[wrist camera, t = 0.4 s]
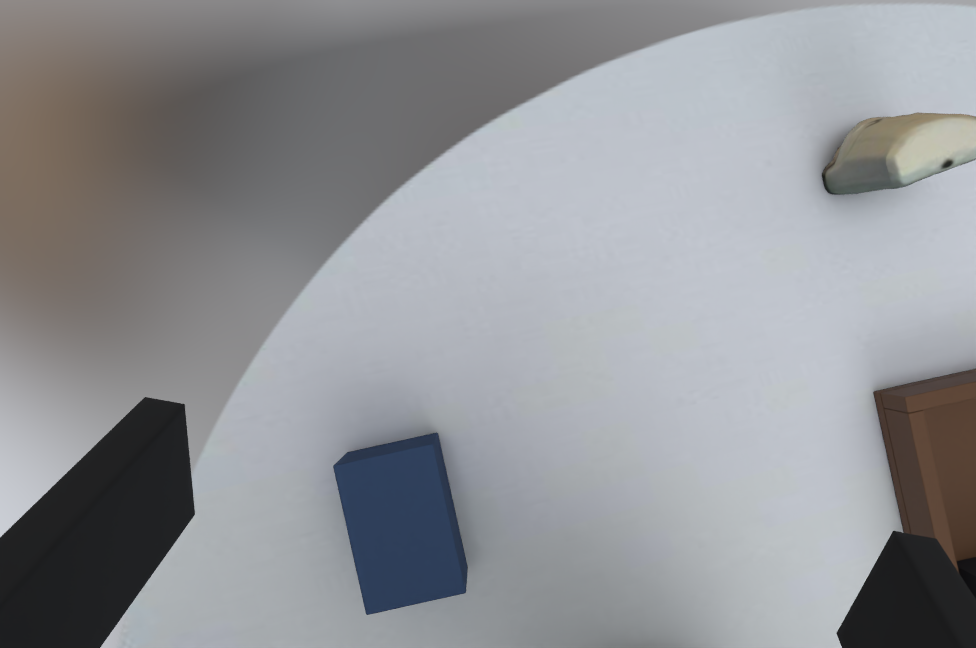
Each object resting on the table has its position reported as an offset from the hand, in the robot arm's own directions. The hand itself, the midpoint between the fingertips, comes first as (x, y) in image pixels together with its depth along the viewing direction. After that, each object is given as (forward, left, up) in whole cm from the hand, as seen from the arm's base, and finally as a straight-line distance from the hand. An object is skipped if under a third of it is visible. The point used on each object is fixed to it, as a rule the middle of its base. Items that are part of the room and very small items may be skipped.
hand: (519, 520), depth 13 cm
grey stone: (+8, -26, -31) cm, 41 cm away
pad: (-7, +7, -31) cm, 32 cm away
